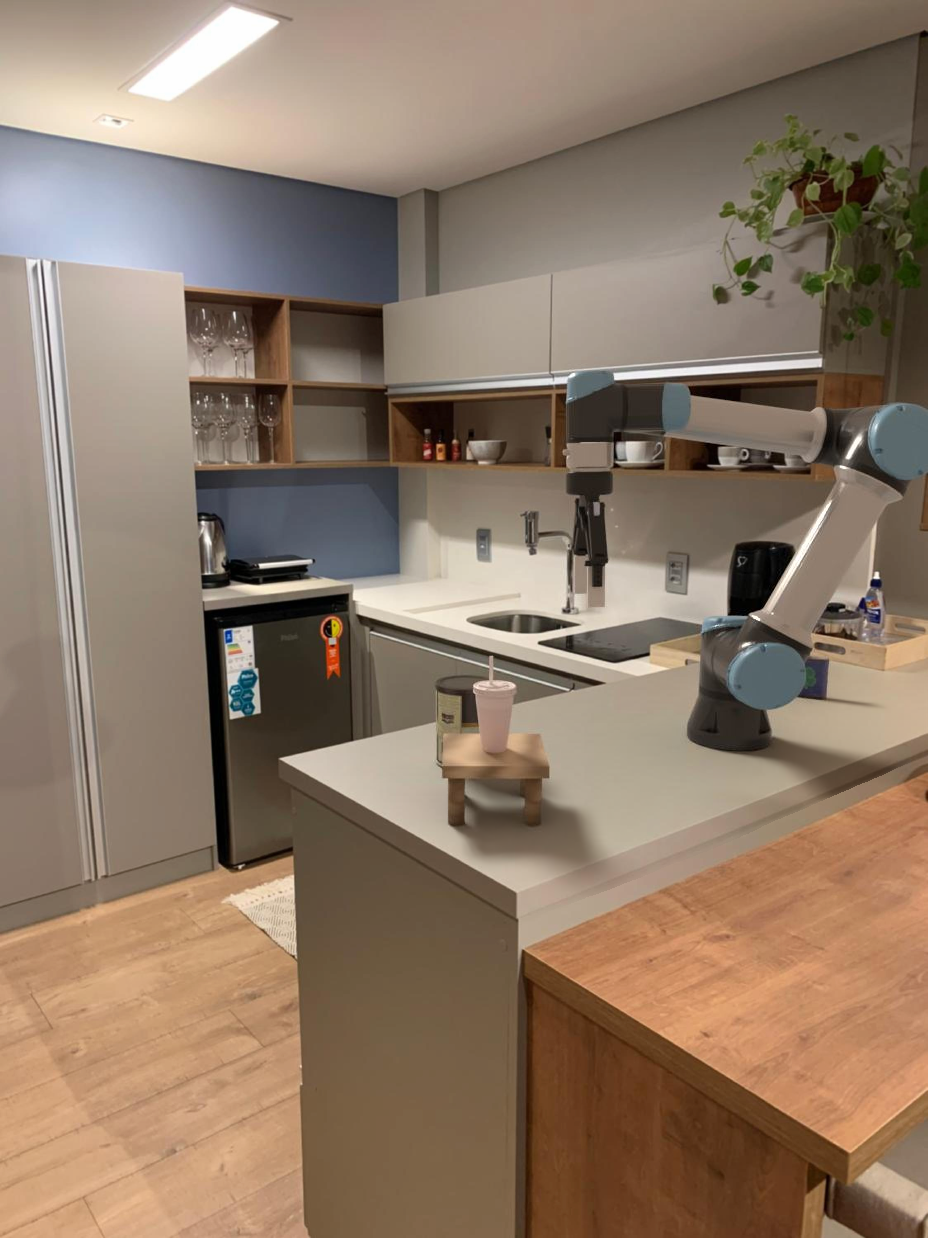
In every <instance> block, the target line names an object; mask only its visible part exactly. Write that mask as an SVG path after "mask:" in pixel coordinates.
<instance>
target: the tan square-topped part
mask: <svg viewBox="0 0 928 1238" xmlns="http://www.w3.org/2000/svg"><path fill="white" fill-rule="evenodd" d="M545 749H546V748H545V746H544V742H543V740H542V736H541V733H509V735H508V742H507V749H506V751H504V752H500V753H489V752H485V751H483V750H482V749H481V740H480V734H444V737H443V760H442V767H441V773H442V774H441V779H447V824H448V825H449V826H453V827H459V826H463V825H465V823H466V820H465V819H466V816H465V815H466V805H465V804H466V779H519V796H520V797H522V798H524V824H525V825H527V826H530V827H537V826H540V825H541V824H542V812H543V811H542V805H543V804H542V803H543V802H542V801H543V796H542V795H543V779H549V780H550V767H551V766H550V763H549V760H548V756H547V754H546V750H545Z"/></svg>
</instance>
